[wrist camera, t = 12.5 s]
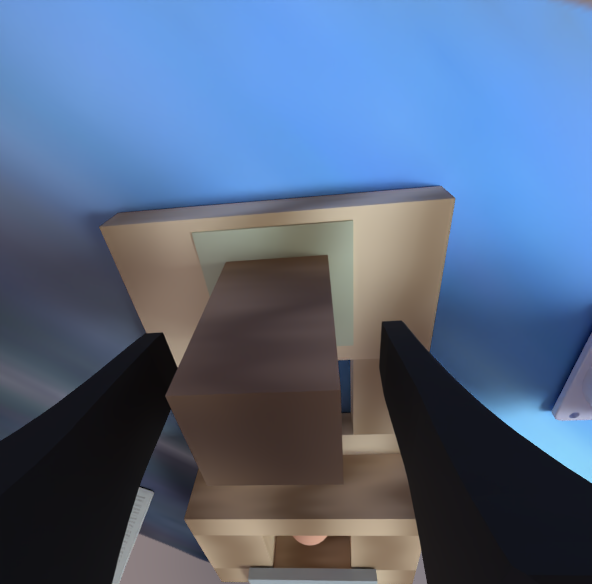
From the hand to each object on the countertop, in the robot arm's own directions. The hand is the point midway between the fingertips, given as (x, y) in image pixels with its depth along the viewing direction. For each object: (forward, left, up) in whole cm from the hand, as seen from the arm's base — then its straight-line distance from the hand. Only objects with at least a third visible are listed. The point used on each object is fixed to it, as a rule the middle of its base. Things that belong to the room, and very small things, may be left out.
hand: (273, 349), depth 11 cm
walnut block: (0, 0, -3) cm, 3 cm away
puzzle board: (0, +9, -5) cm, 10 cm away
